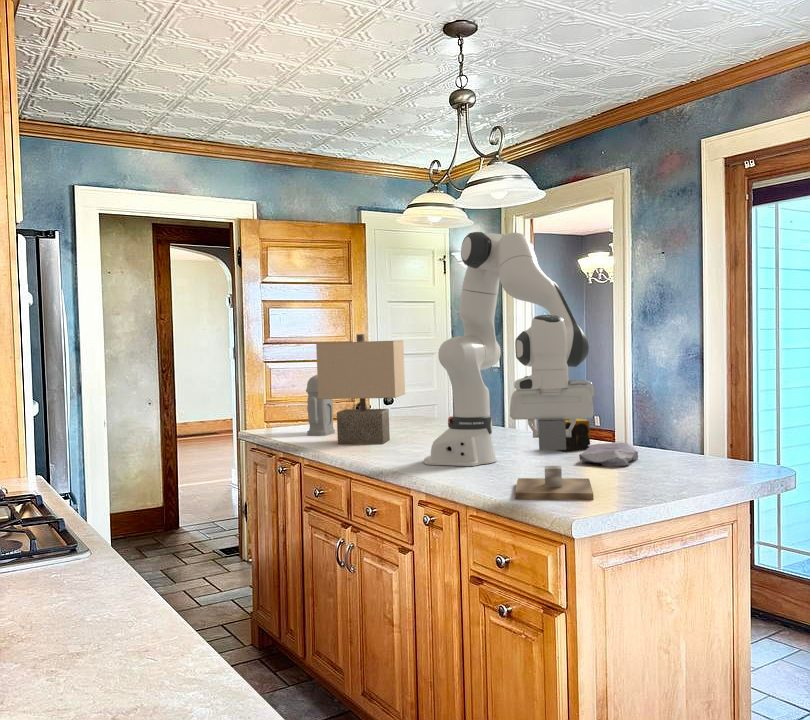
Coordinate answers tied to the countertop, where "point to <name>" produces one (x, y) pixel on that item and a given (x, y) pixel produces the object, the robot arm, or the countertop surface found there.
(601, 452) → the stone
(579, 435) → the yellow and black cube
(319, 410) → the grey tall figure
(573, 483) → the brown square plate
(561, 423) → the grey block with cylinder
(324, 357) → the lamp
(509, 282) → the robot arm
